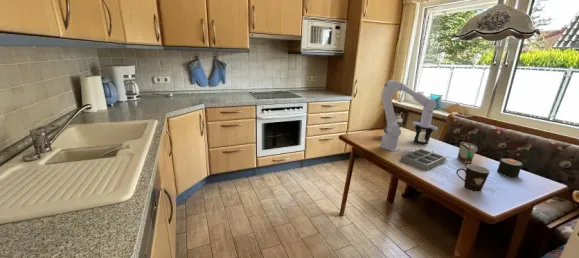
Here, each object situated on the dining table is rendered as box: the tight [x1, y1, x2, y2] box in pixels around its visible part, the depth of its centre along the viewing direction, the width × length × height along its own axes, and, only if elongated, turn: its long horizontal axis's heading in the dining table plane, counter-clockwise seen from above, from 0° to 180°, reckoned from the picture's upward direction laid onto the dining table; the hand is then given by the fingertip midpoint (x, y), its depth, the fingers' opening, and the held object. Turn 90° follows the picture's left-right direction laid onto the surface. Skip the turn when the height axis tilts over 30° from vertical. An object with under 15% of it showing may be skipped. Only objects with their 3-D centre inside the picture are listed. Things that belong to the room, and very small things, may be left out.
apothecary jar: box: [383, 112, 404, 134], centre depth 180 cm, size 12×12×18 cm
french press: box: [413, 117, 434, 145], centre depth 172 cm, size 12×9×23 cm
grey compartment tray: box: [400, 148, 447, 171], centre depth 142 cm, size 15×22×3 cm
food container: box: [457, 141, 478, 165], centre depth 144 cm, size 12×6×10 cm, turn 168°
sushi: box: [496, 158, 523, 178], centre depth 130 cm, size 8×8×8 cm
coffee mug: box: [455, 163, 491, 193], centre depth 114 cm, size 12×9×10 cm
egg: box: [418, 131, 426, 142], centre depth 157 cm, size 4×4×6 cm
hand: (422, 138), depth 157 cm, fingers closed on egg, 4 cm apart
